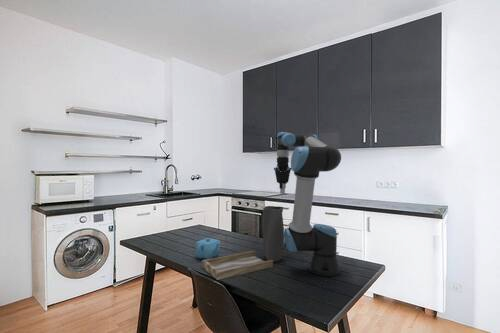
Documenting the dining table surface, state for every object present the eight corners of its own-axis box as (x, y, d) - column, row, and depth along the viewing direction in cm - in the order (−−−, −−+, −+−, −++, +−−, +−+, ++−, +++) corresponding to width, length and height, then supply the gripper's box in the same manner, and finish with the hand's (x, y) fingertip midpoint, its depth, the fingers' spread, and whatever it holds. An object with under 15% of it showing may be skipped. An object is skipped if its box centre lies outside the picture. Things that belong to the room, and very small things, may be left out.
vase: (286, 257, 158) (286, 206, 158) (279, 264, 147) (280, 209, 147) (266, 254, 163) (267, 205, 163) (258, 261, 152) (259, 208, 152)
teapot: (205, 251, 168) (205, 233, 168) (228, 256, 159) (229, 237, 159) (187, 259, 155) (187, 239, 155) (211, 265, 146) (212, 244, 146)
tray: (273, 267, 144) (273, 259, 144) (217, 280, 126) (217, 271, 126) (253, 256, 160) (253, 249, 160) (202, 267, 143) (202, 259, 143)
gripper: (286, 157, 179) (286, 192, 179) (271, 156, 172) (270, 193, 172) (294, 157, 173) (294, 193, 172) (278, 156, 166) (278, 194, 166)
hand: (282, 193), depth 172 cm, fingers closed
